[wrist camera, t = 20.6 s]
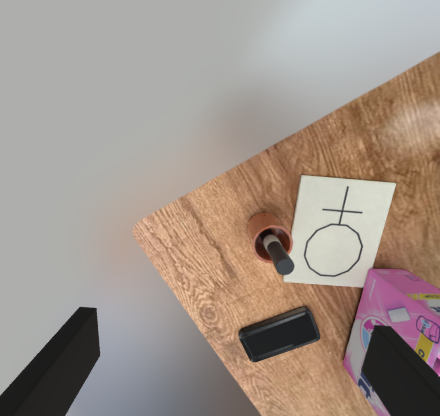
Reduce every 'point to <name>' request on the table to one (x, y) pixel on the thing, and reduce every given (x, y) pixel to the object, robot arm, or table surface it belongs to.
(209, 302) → the table surface
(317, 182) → the notepad
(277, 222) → the pen cup
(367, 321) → the gum box
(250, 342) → the phone
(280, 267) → the marker
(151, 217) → the table surface
